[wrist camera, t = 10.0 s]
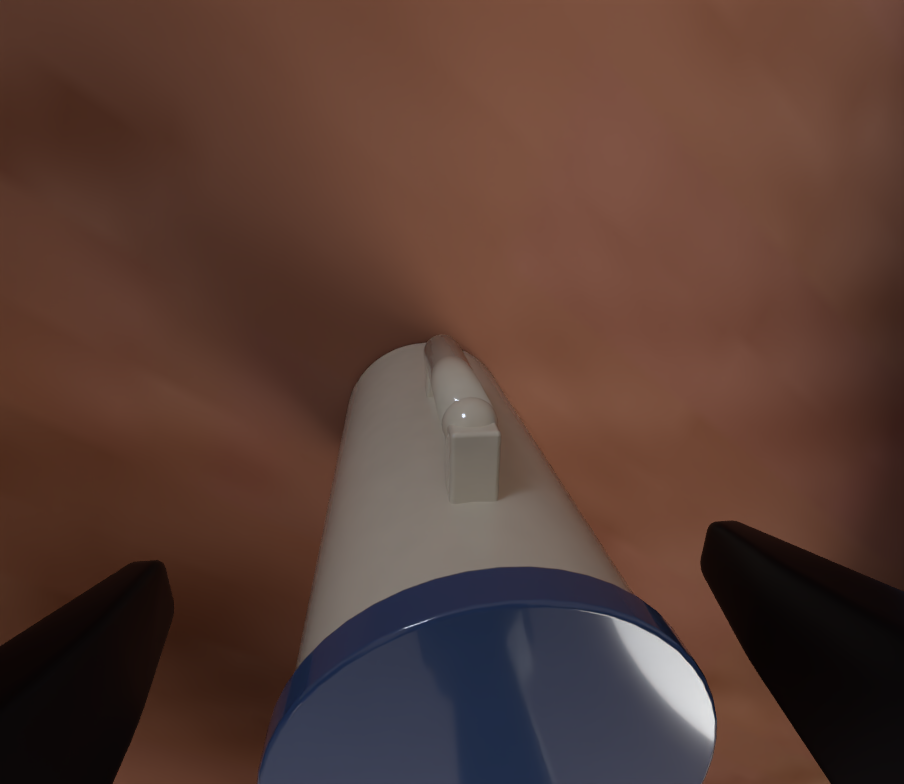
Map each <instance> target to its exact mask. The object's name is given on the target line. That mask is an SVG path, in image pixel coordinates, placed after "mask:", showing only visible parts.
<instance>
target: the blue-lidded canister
mask: <svg viewBox="0 0 904 784" xmlns="http://www.w3.org/2000/svg"><path fill="white" fill-rule="evenodd" d="M716 730H717V718H716V712H715V707H714V701H713V696H712V693H711V691H710V688H709V686H708V683H707V680H706V678H705V676H704V674H703V673H702V671H701V670H700V668H699V667H698V665H697V663H696V662H695V660H694V659H693V657H692V656H691V654H690V653H689V652H688V650H687V649H686V647H685V646H684V644H683V643H682V641H681V640H680V638H679V637H678V635H677V634H676V633H675V631H674V630H673V628H672V627H671V626H670V625H669V624H668V623H667V622H666V620H665V619H664V618H663V617H662V616H661V615H660V614H659V613H658V612H657V611H656V610H654V609H653V608H652V607H650V606H649V605H648V604H646V603H645V602H644V601H642V600H641V599H640V598H638V597H637V596H635V595H634V594H633V592H632V591H631V589H630V588H629V586H628V585H627V583H626V581H625V580H624V578H623V577H622V575H621V574H620V572H619V571H618V569H617V568H616V566H615V564H614V563H613V561H612V560H611V558H610V557H609V555H608V554H607V552H606V550H605V549H604V547H603V546H602V544H601V543H600V541H599V540H598V538H597V536H596V535H595V533H594V532H593V530H592V529H591V527H590V526H589V524H588V523H587V521H586V519H585V518H584V516H583V515H582V513H581V512H580V510H579V509H578V507H577V505H576V504H575V502H574V501H573V499H572V498H571V496H570V495H569V493H568V492H567V490H566V488H565V487H564V485H563V484H562V482H561V481H560V479H559V478H558V476H557V474H556V473H555V471H554V470H553V468H552V467H551V465H550V464H549V462H548V461H547V459H546V457H545V456H544V454H543V453H542V451H541V450H540V448H539V447H538V445H537V443H536V442H535V440H534V439H533V437H532V436H531V434H530V433H529V431H528V429H527V428H526V426H525V425H524V423H523V422H522V420H521V419H520V417H519V416H518V414H517V412H516V411H515V409H514V408H513V406H512V405H511V403H510V402H509V400H508V398H507V397H506V395H505V394H504V392H503V391H502V389H501V388H500V386H499V385H498V383H497V381H496V380H495V378H494V377H493V375H492V374H491V372H490V371H489V370H488V369H487V368H486V367H485V365H484V364H482V363H481V362H480V361H479V360H478V359H477V358H475V357H474V356H472V355H470V354H469V353H467V352H465V351H463V350H462V349H461V347H460V345H459V344H458V342H457V341H456V340H455V339H454V338H453V337H451V336H448V335H437V336H434V337H432V338H431V339H430V340H429V341H428V342H427V343H418V344H412V345H407V346H404V347H401V348H398V349H395V350H393V351H391V352H389V353H387V354H385V355H384V356H382V357H381V358H379V359H378V360H376V361H375V362H374V363H373V364H372V365H371V366H369V367H368V368H367V370H366V371H365V372H364V373H363V374H362V375H361V377H360V378H359V380H358V382H357V383H356V385H355V387H354V389H353V391H352V393H351V397H350V400H349V404H348V409H347V414H346V419H345V424H344V429H343V434H342V439H341V444H340V449H339V454H338V459H337V464H336V469H335V474H334V479H333V484H332V489H331V494H330V499H329V504H328V509H327V514H326V519H325V524H324V529H323V534H322V539H321V544H320V549H319V554H318V559H317V564H316V569H315V574H314V579H313V584H312V589H311V594H310V599H309V604H308V609H307V614H306V619H305V624H304V629H303V634H302V639H301V644H300V649H299V653H298V658H297V663H296V668H295V673H294V674H293V675H292V677H291V678H290V680H289V681H288V682H287V684H286V685H285V687H284V689H283V691H282V693H281V695H280V697H279V699H278V701H277V703H276V705H275V707H274V710H273V714H272V717H271V720H270V723H269V726H268V730H267V734H266V738H265V743H264V747H263V751H262V756H261V760H260V764H259V769H258V777H257V784H702V783H703V781H704V779H705V777H706V775H707V772H708V769H709V766H710V764H711V761H712V758H713V753H714V748H715V743H716Z"/></svg>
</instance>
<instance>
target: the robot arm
mask: <svg viewBox="0 0 904 784" xmlns="http://www.w3.org/2000/svg"><path fill="white" fill-rule="evenodd" d="M700 562H701V570H702V573H703V576H704V578H705V580H706V581H707V583H708V585H709V587H710V589H711V591H712V592H713V594H714V596H715V598H716V600H717V602H718V604H719V605H720V607H721V609H722V611H723V613H724V615H725V617H726V618H727V620H728V622H729V624H730V626H731V628H732V630H733V631H734V633H735V635H736V637H737V639H738V641H739V642H740V644H741V646H742V648H743V649H744V651H745V653H746V655H747V656H748V658H749V660H750V661H751V663H752V665H753V666H754V668H755V669H756V671H757V672H758V674H759V676H760V677H761V679H762V680H763V682H764V683H765V685H766V686H767V688H768V689H769V691H770V692H771V694H772V695H773V697H774V698H775V700H776V701H777V703H778V704H779V706H780V707H781V709H782V710H783V712H784V713H785V715H786V716H787V718H788V719H789V721H790V722H791V724H792V725H793V727H794V729H795V730H796V732H797V733H798V735H799V736H800V738H801V739H802V741H803V742H804V744H805V745H806V747H807V748H808V750H809V751H810V753H811V754H812V756H813V757H814V759H815V760H816V762H817V763H818V765H819V766H820V768H821V769H822V771H823V772H824V774H825V775H826V777H827V778H828V780H829V782H830V783H831V784H904V592H903V591H901V590H899V589H896V588H894V587H891V586H889V585H887V584H884V583H882V582H880V581H877V580H875V579H873V578H870V577H868V576H865V575H863V574H861V573H858V572H856V571H854V570H851V569H849V568H846V567H844V566H842V565H839V564H837V563H835V562H832V561H830V560H828V559H825V558H823V557H820V556H818V555H816V554H813V553H811V552H809V551H806V550H804V549H802V548H799V547H797V546H794V545H792V544H790V543H787V542H785V541H783V540H780V539H778V538H775V537H773V536H771V535H768V534H766V533H764V532H761V531H759V530H757V529H754V528H752V527H749V526H747V525H745V524H742V523H740V522H737V521H719V522H713V523H711V524H710V526H709V527H708V529H707V533H706V538H705V542H704V547H703V551H702V555H701V561H700ZM173 613H174V601H173V597H172V592H171V588H170V584H169V579H168V575H167V571H166V568H165V565H164V564H163V563H162V562H161V561H159V560H154V561H139V562H133V563H130V564H128V565H127V566H125V567H123V568H122V569H120V570H119V571H117V572H116V573H114V574H112V575H111V576H109V577H108V578H106V579H105V580H103V581H102V582H100V583H98V584H97V585H95V586H94V587H92V588H91V589H89V590H87V591H86V592H84V593H83V594H81V595H80V596H78V597H76V598H75V599H73V600H72V601H70V602H69V603H67V604H65V605H64V606H62V607H61V608H59V609H58V610H56V611H55V612H53V613H51V614H50V615H48V616H47V617H45V618H44V619H42V620H40V621H39V622H37V623H36V624H34V625H33V626H31V627H29V628H28V629H26V630H25V631H23V632H22V633H20V634H18V635H17V636H15V637H14V638H12V639H11V640H9V641H8V642H6V643H4V644H3V645H1V646H0V784H113V781H114V779H115V777H116V775H117V772H118V770H119V768H120V765H121V763H122V761H123V758H124V756H125V754H126V752H127V749H128V747H129V745H130V742H131V740H132V738H133V735H134V733H135V730H136V728H137V725H138V723H139V720H140V717H141V714H142V712H143V709H144V706H145V703H146V700H147V697H148V693H149V690H150V687H151V684H152V681H153V678H154V675H155V672H156V669H157V665H158V662H159V659H160V656H161V653H162V650H163V647H164V644H165V641H166V637H167V634H168V631H169V628H170V625H171V622H172V618H173Z"/></svg>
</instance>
